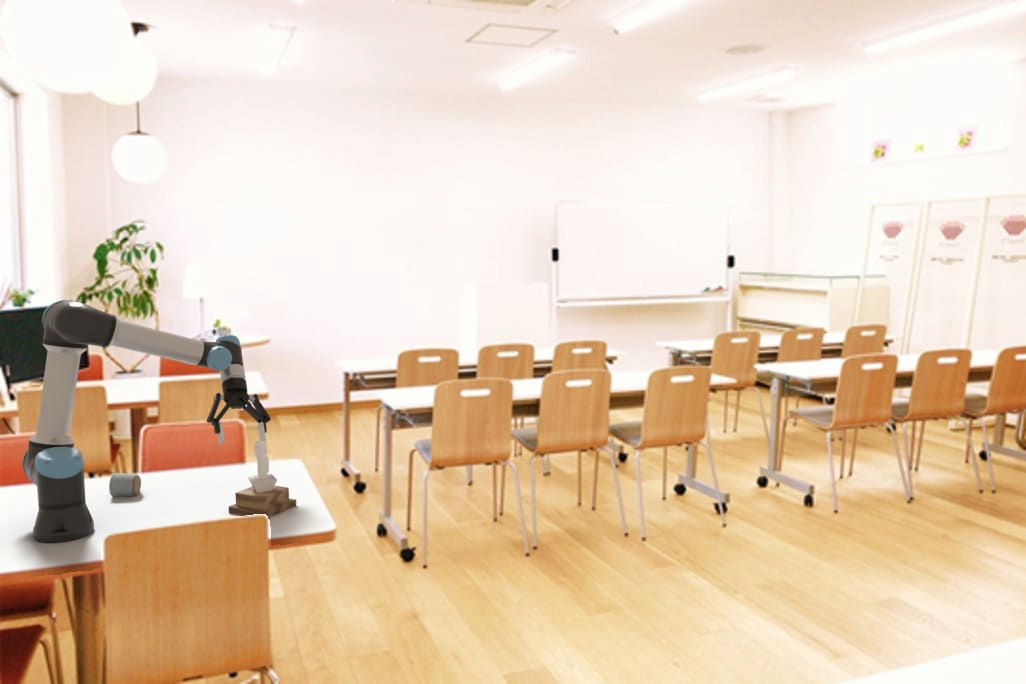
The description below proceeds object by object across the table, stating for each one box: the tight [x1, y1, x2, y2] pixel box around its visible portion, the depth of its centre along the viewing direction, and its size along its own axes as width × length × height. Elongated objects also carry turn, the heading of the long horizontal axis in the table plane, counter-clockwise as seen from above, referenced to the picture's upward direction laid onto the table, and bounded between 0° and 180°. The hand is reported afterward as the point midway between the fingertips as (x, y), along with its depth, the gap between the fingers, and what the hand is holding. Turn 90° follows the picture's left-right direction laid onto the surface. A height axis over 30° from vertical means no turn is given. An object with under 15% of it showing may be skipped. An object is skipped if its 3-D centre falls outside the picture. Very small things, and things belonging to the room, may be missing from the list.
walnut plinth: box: [228, 485, 297, 519], centre depth 260 cm, size 14×14×6 cm
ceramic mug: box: [108, 472, 142, 497], centre depth 275 cm, size 10×8×7 cm
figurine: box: [247, 440, 278, 493], centre depth 259 cm, size 7×9×15 cm
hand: (242, 443), depth 268 cm, fingers open, 13 cm apart
